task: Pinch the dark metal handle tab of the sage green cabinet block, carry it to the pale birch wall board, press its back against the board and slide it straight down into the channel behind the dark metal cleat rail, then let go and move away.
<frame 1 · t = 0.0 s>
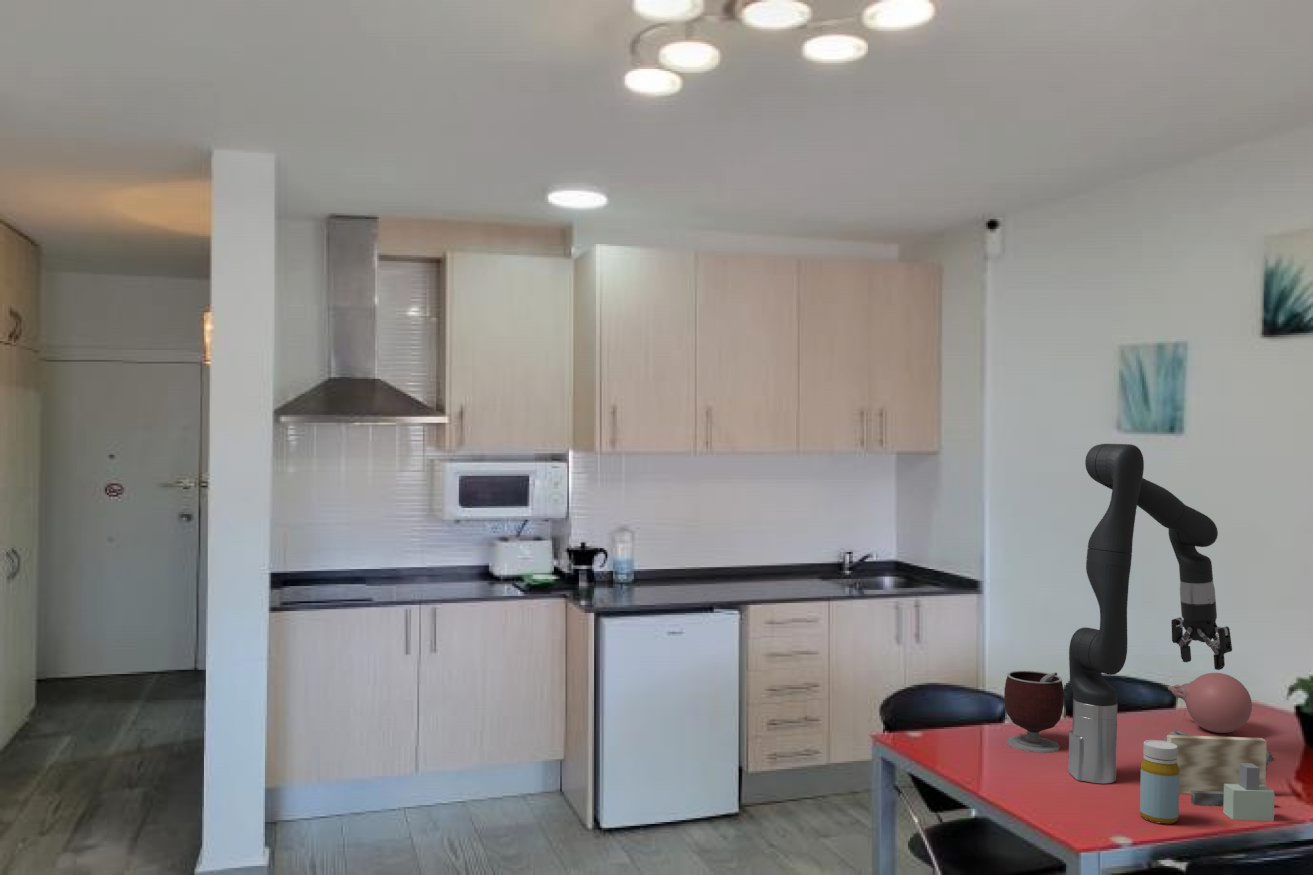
hand: (1202, 665, 253), 22 cm above the table, tool pointing down, fingers open, 8 cm apart
mate gourd: (1034, 747, 261), on the table
bottle: (1158, 819, 213), on the table
wall board: (1222, 797, 226), on the table
balloon: (1208, 730, 278), on the table
wall plaque: (1212, 759, 255), on the table
cabinet block: (1248, 816, 215), on the table
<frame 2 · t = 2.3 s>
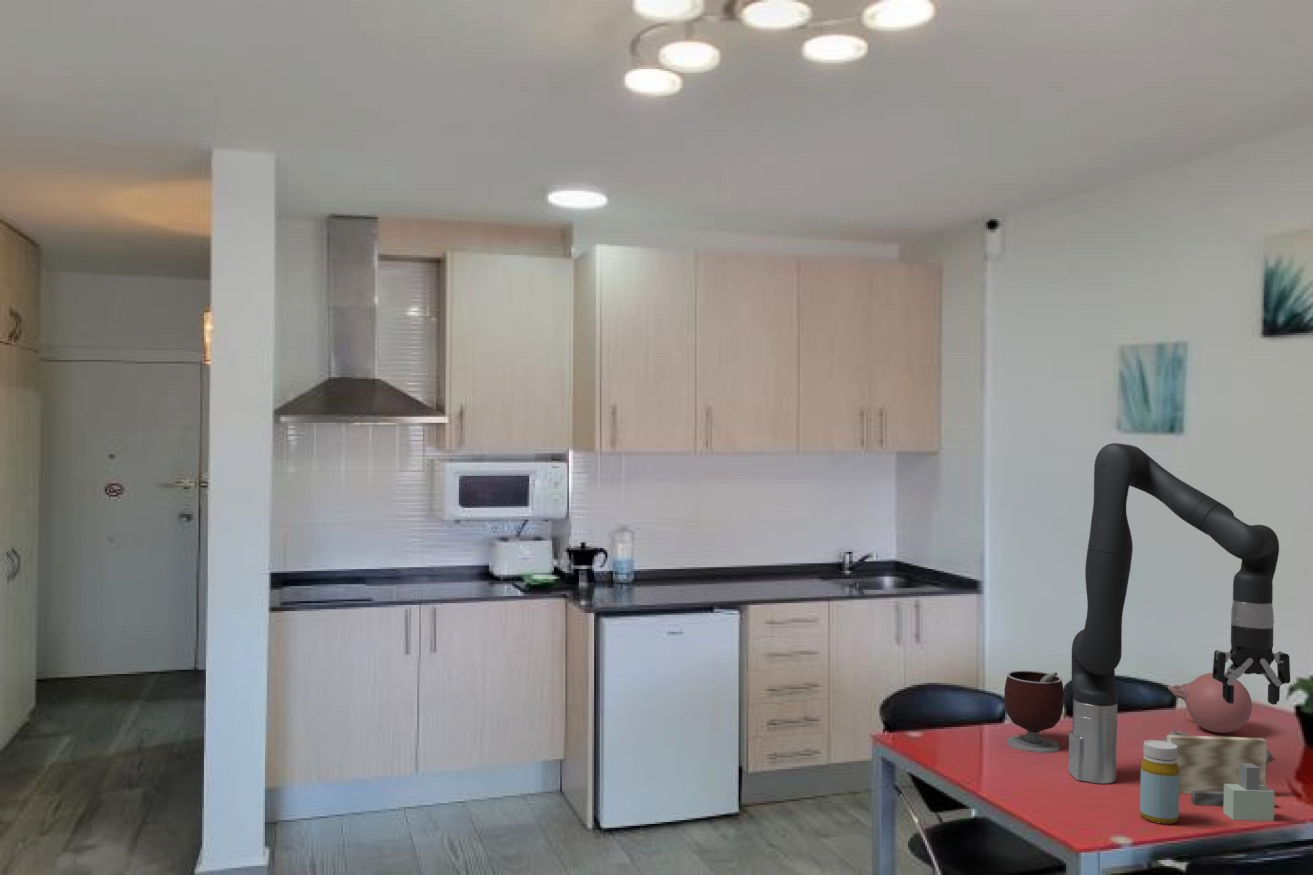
hand: (1250, 703, 215), 23 cm above the table, tool pointing down, fingers open, 8 cm apart
nothing on the table moved.
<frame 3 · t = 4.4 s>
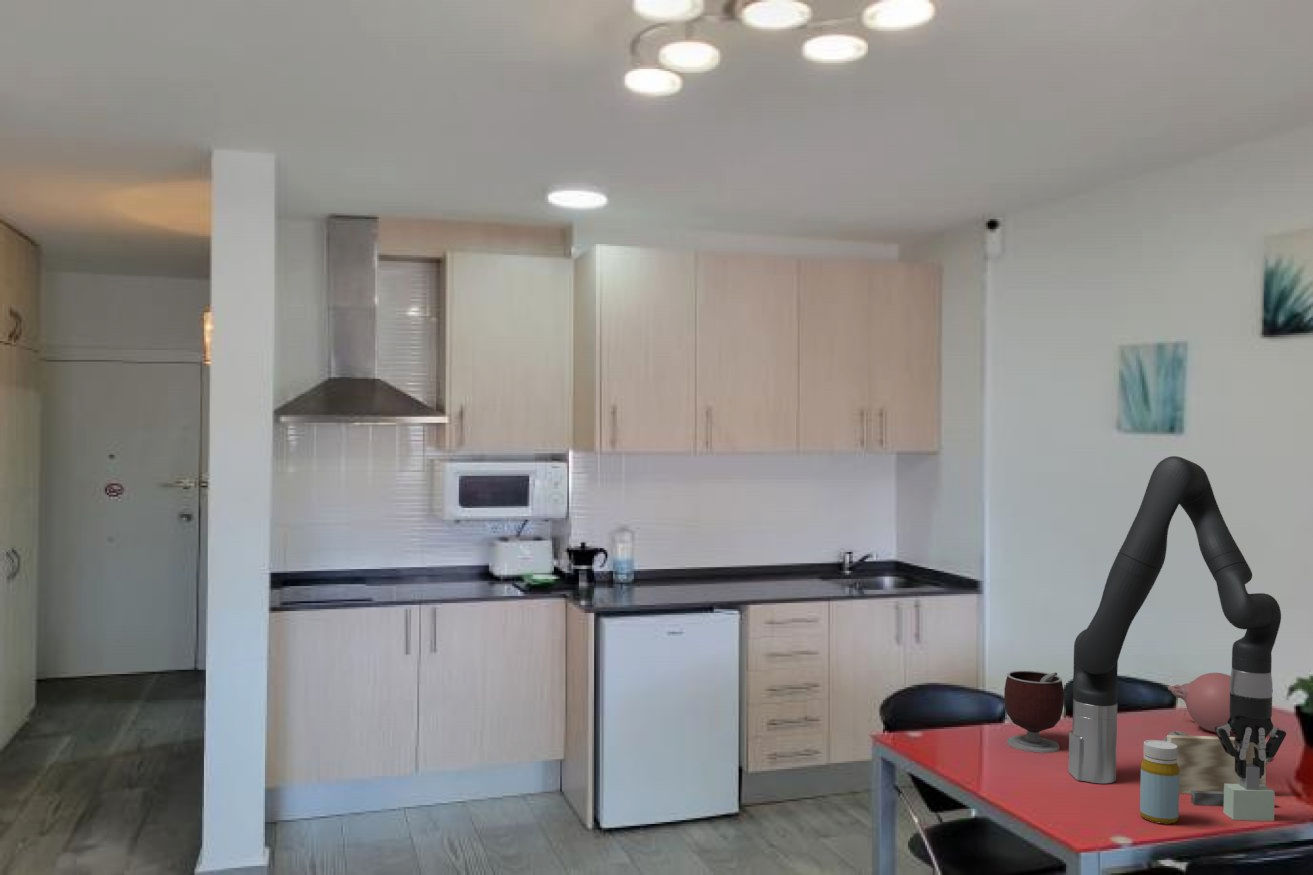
hand: (1249, 776, 215), 8 cm above the table, tool pointing down, fingers closed on cabinet block, 2 cm apart
cabinet block: (1248, 816, 215), on the table, touching gripper
everything else where it was.
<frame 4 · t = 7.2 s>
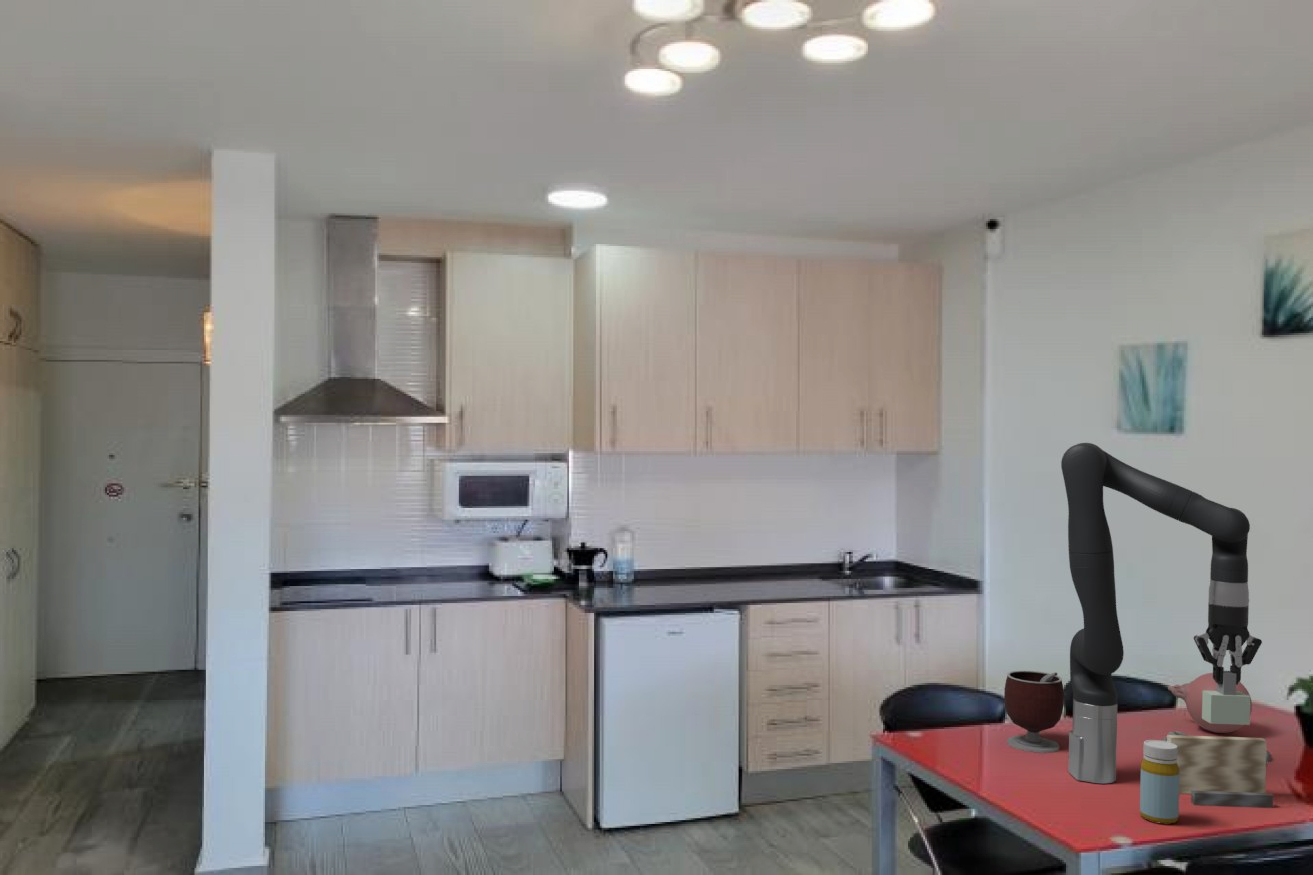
hand: (1226, 683, 224), 25 cm above the table, tool pointing down, fingers closed on cabinet block, 2 cm apart
cabinet block: (1225, 721, 225), point 17 cm above the table, touching gripper
everything else where it was.
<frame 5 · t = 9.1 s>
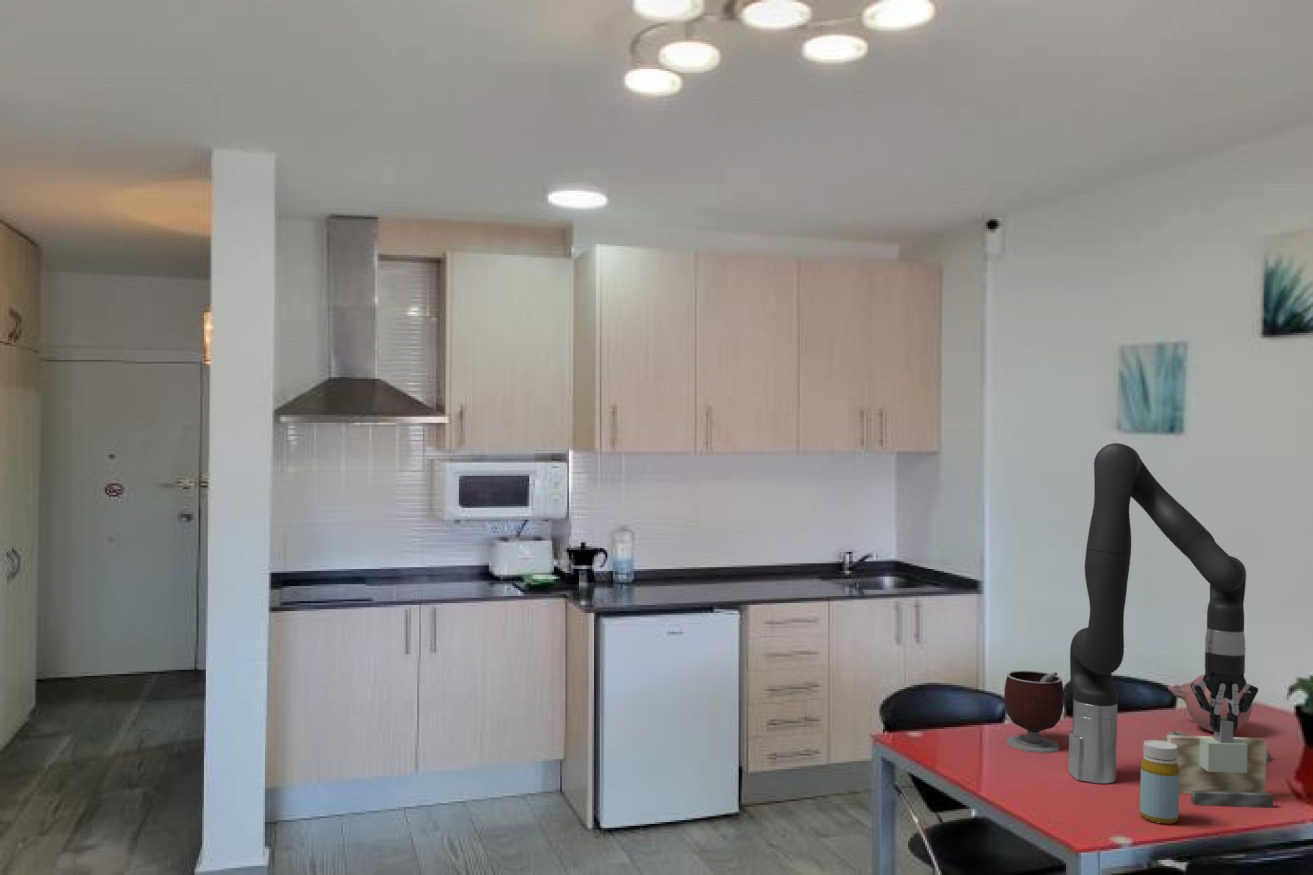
hand: (1223, 730, 226), 14 cm above the table, tool pointing down, fingers closed on cabinet block, 2 cm apart
cabinet block: (1222, 769, 226), point 6 cm above the table, touching gripper
everything else where it was.
when the fingers open (9 cm above the table, at t = 10.4 s): cabinet block drops 1 cm, on the table.
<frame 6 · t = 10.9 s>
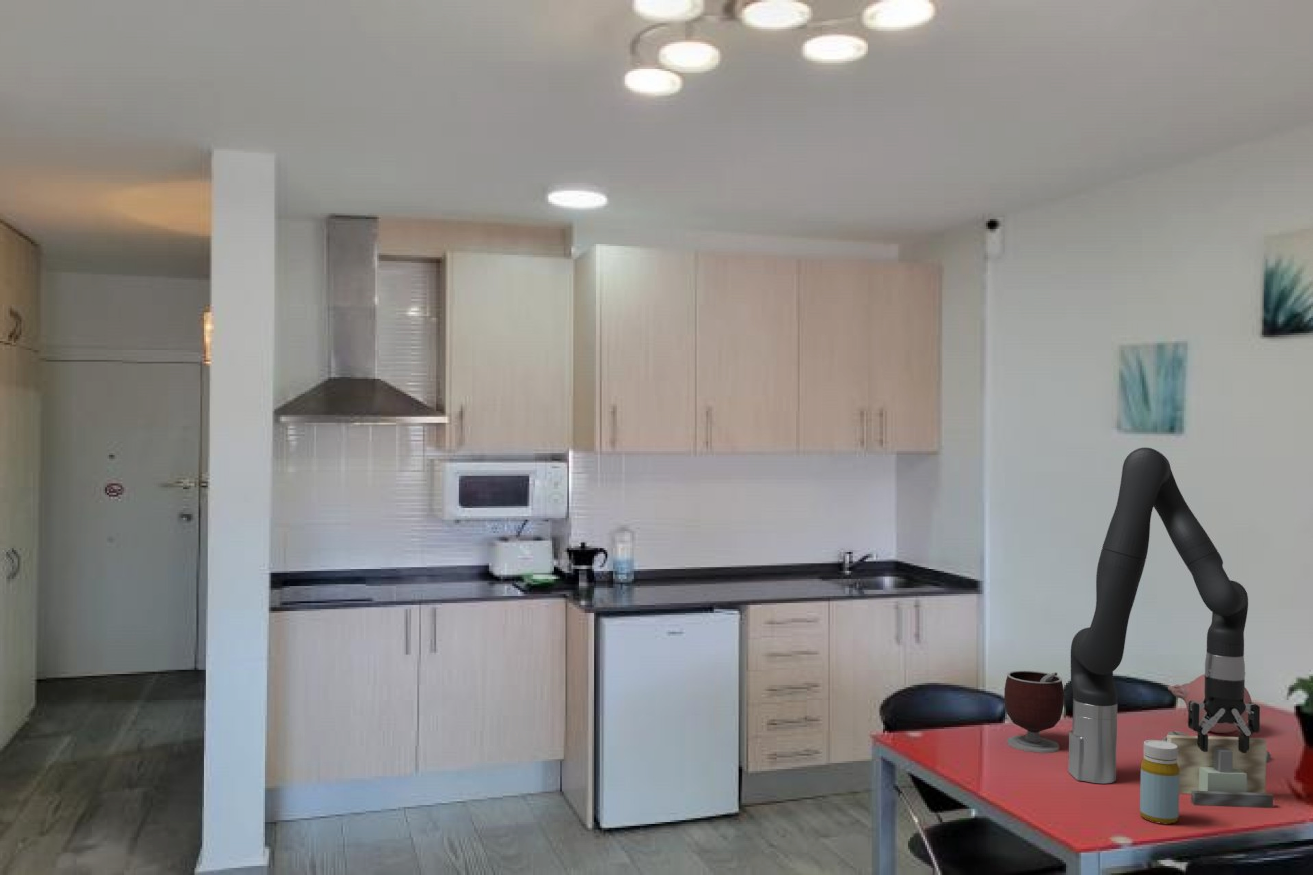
hand: (1223, 751, 226), 10 cm above the table, tool pointing down, fingers open, 7 cm apart
cabinet block: (1222, 798, 226), on the table
everything else where it was.
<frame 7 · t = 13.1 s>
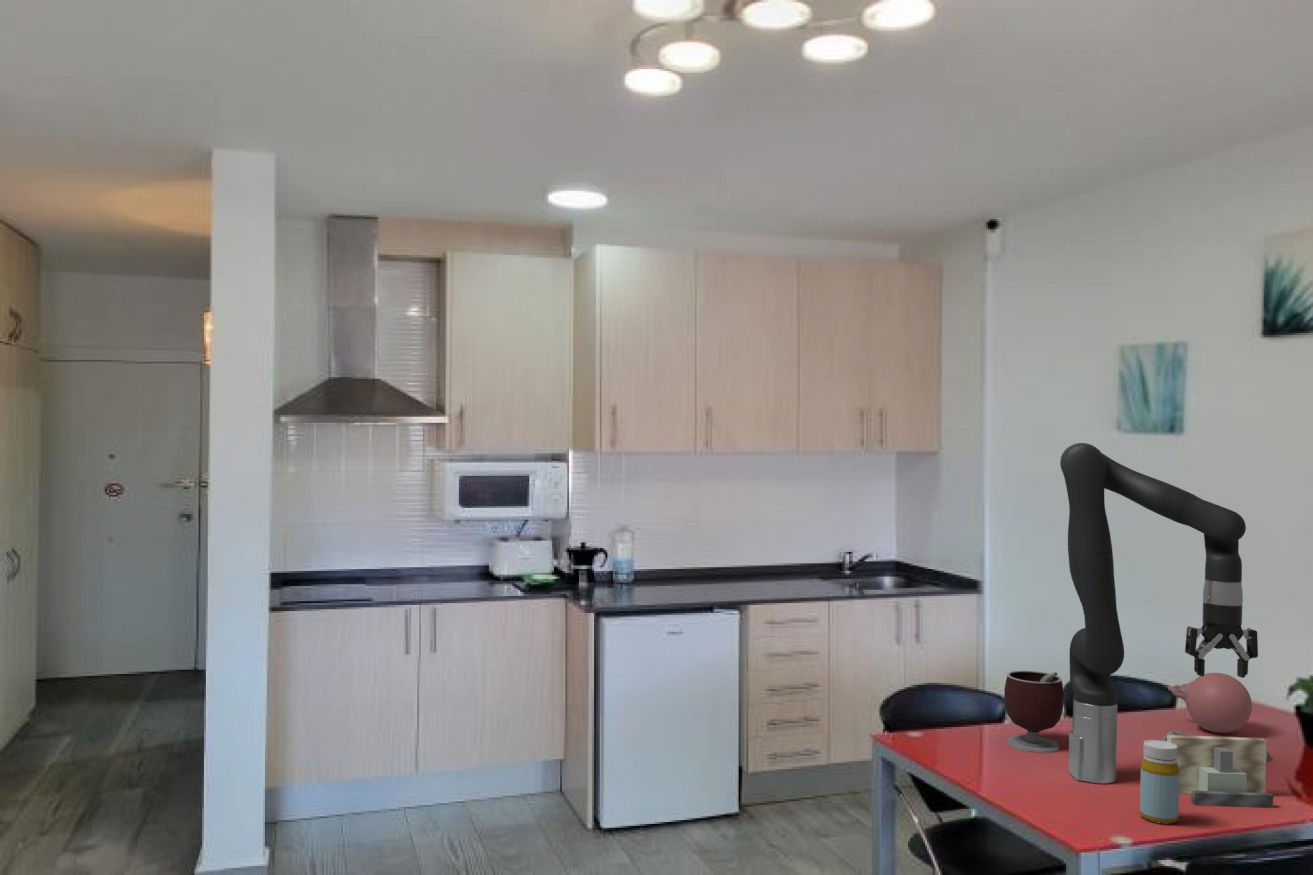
hand: (1220, 676, 229), 25 cm above the table, tool pointing down, fingers open, 8 cm apart
nothing on the table moved.
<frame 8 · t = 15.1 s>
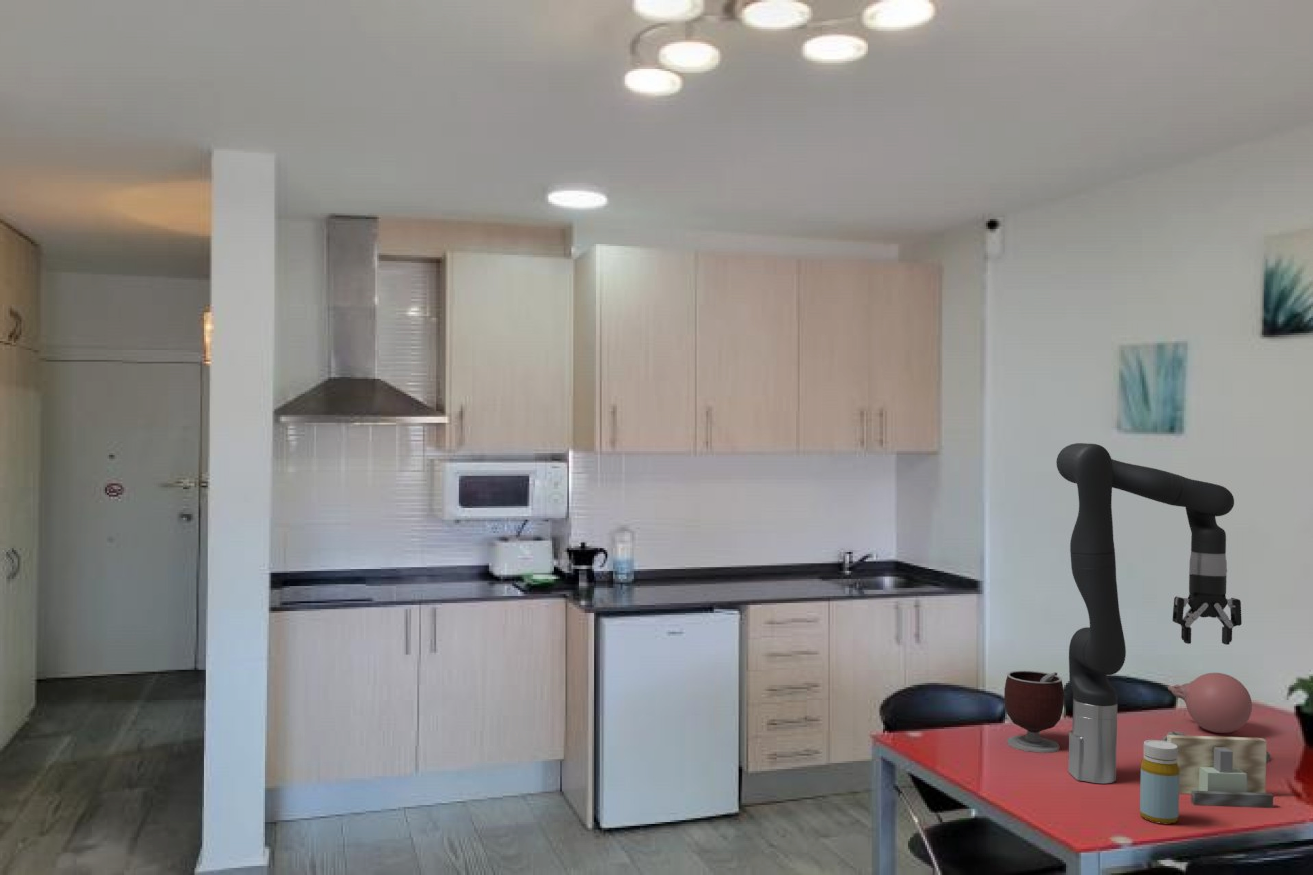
hand: (1206, 643, 240), 30 cm above the table, tool pointing down, fingers open, 8 cm apart
nothing on the table moved.
at the end: cabinet block inside the target area on the wall board (0.4 cm from its centre), point 0.0 cm above the wall board's base; cabinet block tilted 0°; the gripper is holding nothing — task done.
